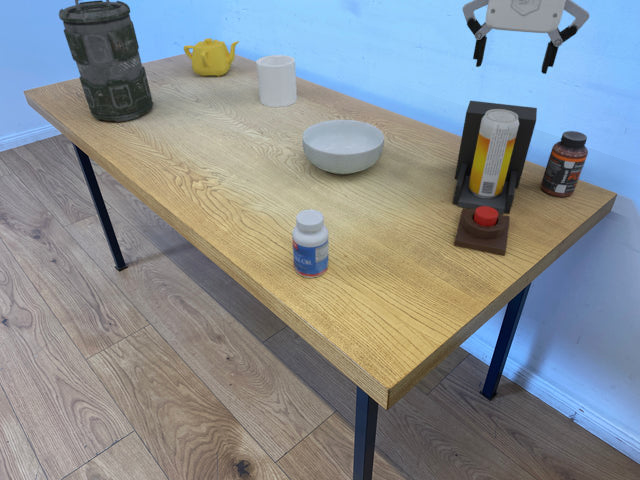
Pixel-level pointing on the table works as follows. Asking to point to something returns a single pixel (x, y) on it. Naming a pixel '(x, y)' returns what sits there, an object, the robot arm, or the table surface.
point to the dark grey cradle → (468, 148)
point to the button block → (482, 233)
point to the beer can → (493, 152)
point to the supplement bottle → (565, 164)
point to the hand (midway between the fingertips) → (510, 67)
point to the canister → (107, 59)
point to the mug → (277, 80)
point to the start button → (485, 216)
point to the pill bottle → (310, 244)
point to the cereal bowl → (343, 145)
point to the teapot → (211, 57)
